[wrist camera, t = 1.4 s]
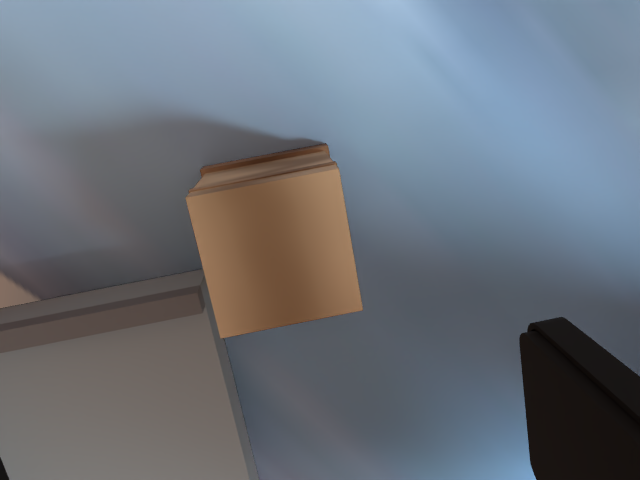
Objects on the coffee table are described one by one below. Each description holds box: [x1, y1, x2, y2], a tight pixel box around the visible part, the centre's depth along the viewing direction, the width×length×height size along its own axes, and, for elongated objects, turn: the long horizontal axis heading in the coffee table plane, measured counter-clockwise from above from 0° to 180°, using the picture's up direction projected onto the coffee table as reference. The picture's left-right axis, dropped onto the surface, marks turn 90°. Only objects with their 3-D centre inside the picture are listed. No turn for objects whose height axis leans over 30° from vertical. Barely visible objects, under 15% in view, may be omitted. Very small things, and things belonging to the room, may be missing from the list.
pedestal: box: [186, 143, 363, 338], centre depth 24 cm, size 6×6×7 cm
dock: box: [0, 269, 259, 480], centre depth 27 cm, size 14×16×6 cm
